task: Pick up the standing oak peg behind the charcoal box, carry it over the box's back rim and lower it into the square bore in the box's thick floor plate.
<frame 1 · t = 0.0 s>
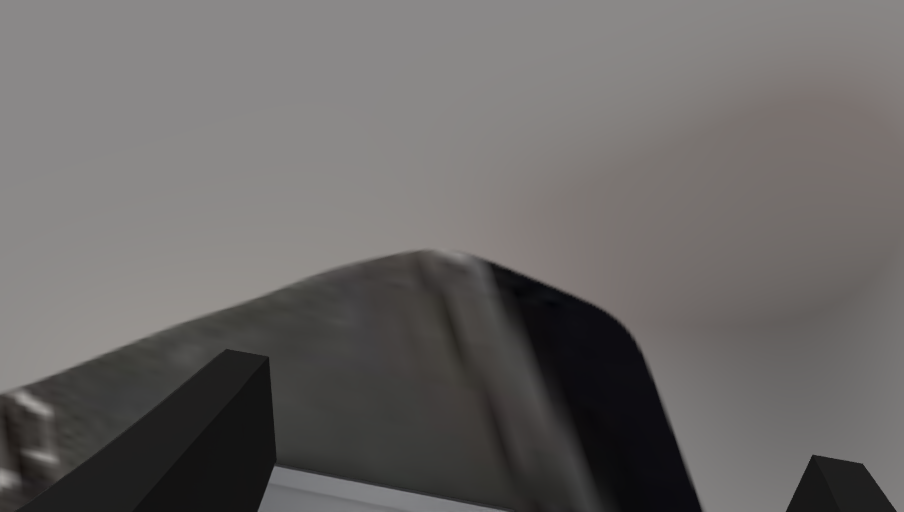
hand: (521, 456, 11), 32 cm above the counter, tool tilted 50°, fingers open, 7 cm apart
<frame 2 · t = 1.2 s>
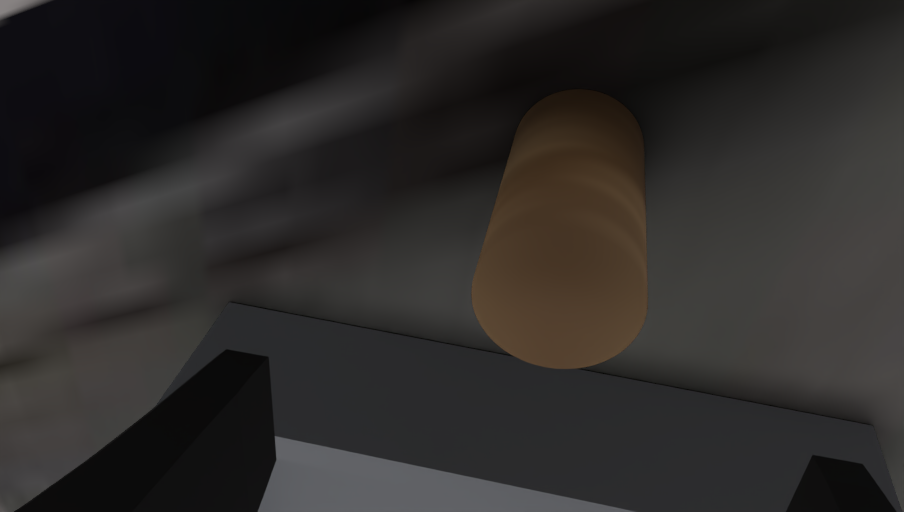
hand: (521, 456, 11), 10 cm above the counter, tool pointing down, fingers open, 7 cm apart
peg: (577, 150, 19), on the counter
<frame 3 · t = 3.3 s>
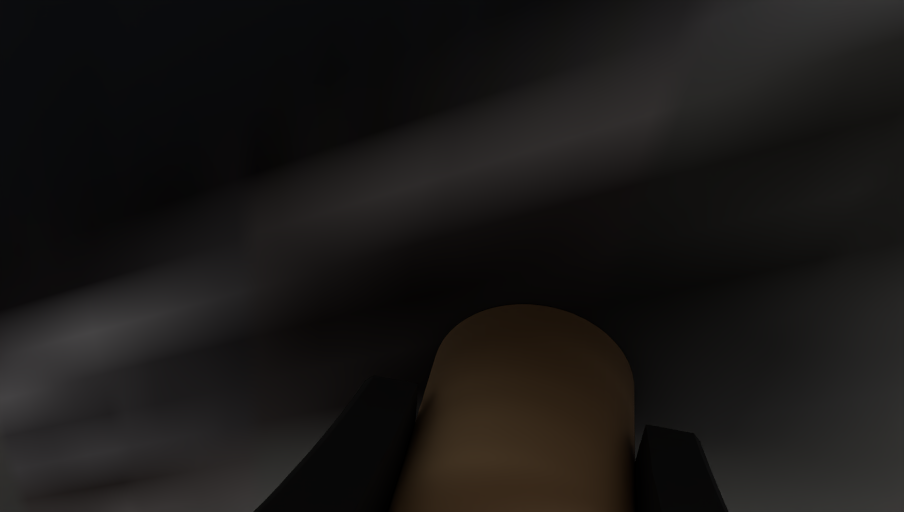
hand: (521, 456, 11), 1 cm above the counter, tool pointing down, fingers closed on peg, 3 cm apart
peg: (531, 385, 12), on the counter, touching gripper
when the fingers open (3 cm above the counter, at t = 7.1 s): peg drops 1 cm, resting in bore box.
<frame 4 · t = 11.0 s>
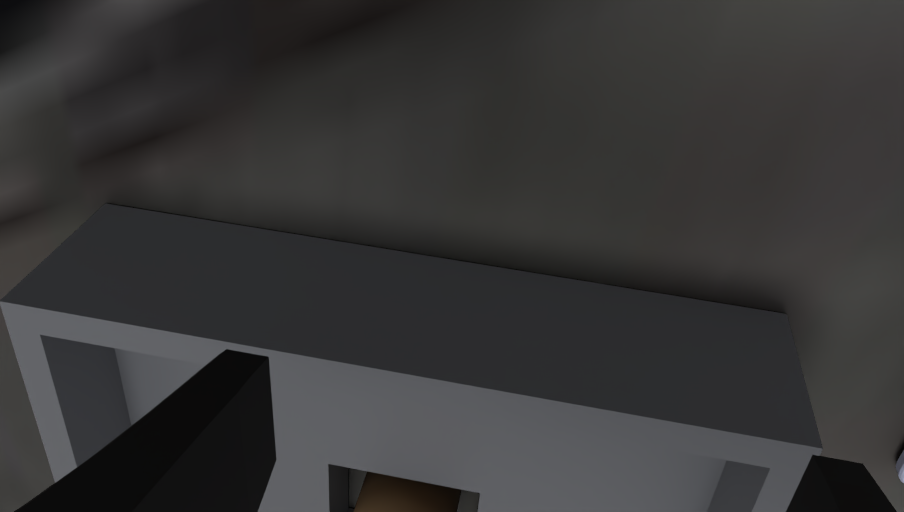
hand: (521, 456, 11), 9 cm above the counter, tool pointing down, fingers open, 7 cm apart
peg: (416, 474, 26), resting in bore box
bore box: (415, 476, 26), on the counter
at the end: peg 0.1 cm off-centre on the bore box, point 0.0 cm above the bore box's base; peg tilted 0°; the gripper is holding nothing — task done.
